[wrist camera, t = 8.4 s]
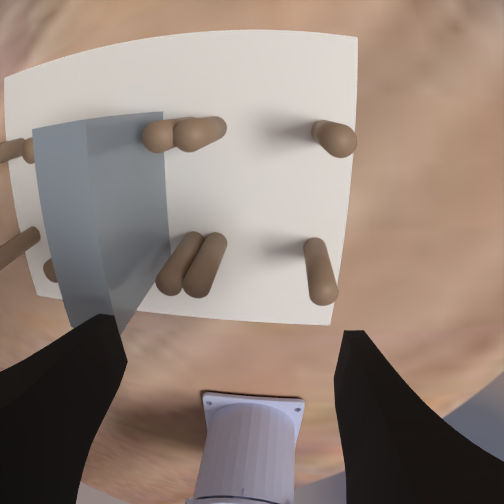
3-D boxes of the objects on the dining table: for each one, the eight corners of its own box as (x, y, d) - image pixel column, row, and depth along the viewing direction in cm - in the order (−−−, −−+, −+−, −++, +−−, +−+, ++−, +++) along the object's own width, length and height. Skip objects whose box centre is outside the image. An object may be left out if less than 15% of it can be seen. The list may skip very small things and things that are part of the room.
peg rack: (328, 315, 20) (338, 379, 15) (44, 288, 21) (3, 329, 16) (353, 41, 13) (385, 13, 8) (14, 77, 15) (-46, 82, 10)
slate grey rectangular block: (171, 257, 18) (119, 336, 12) (133, 255, 18) (71, 327, 12) (163, 111, 15) (85, 119, 8) (120, 115, 15) (31, 129, 8)
